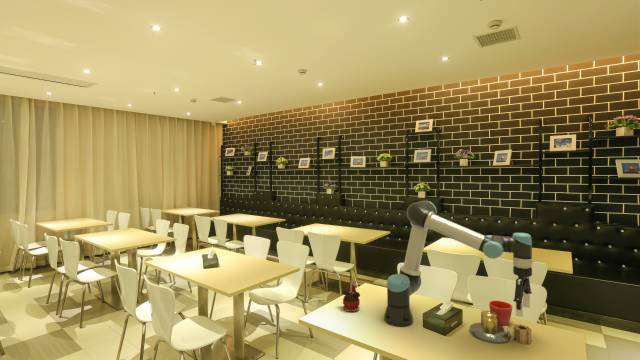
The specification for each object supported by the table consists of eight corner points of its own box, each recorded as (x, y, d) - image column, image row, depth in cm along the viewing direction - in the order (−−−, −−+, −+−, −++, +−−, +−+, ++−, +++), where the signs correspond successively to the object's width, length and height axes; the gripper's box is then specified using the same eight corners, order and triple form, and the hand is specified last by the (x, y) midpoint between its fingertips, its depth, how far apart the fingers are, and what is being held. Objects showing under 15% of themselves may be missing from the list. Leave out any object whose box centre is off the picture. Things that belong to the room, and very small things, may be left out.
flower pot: (515, 328, 168) (515, 309, 168) (492, 326, 170) (492, 307, 170) (508, 319, 178) (508, 301, 178) (486, 317, 180) (486, 299, 180)
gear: (514, 342, 154) (514, 329, 154) (512, 335, 160) (512, 323, 160) (532, 345, 151) (532, 332, 151) (529, 338, 157) (529, 325, 157)
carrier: (470, 338, 157) (470, 322, 157) (469, 321, 175) (469, 307, 175) (513, 346, 150) (513, 329, 150) (508, 327, 168) (508, 312, 168)
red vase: (339, 310, 192) (339, 279, 191) (346, 304, 200) (346, 275, 199) (356, 314, 186) (355, 282, 186) (363, 308, 194) (362, 278, 194)
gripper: (525, 274, 143) (525, 322, 143) (537, 262, 161) (538, 305, 161) (506, 270, 148) (506, 317, 149) (520, 259, 166) (520, 301, 167)
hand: (522, 311), depth 155 cm, fingers open, 13 cm apart
